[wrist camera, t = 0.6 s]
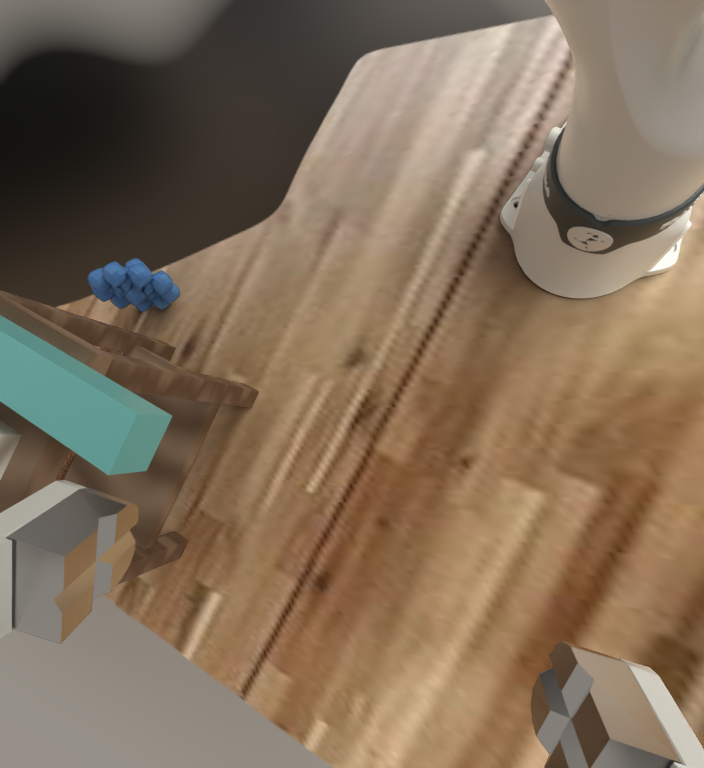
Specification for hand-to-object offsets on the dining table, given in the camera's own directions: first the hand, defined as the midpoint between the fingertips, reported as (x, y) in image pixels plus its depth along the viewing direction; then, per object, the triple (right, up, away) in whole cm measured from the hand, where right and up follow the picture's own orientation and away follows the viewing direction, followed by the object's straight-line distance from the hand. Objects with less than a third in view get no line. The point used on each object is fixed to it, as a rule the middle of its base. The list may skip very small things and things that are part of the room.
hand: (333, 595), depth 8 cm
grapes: (-27, +17, +52) cm, 61 cm away
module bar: (-23, +5, +22) cm, 32 cm away
